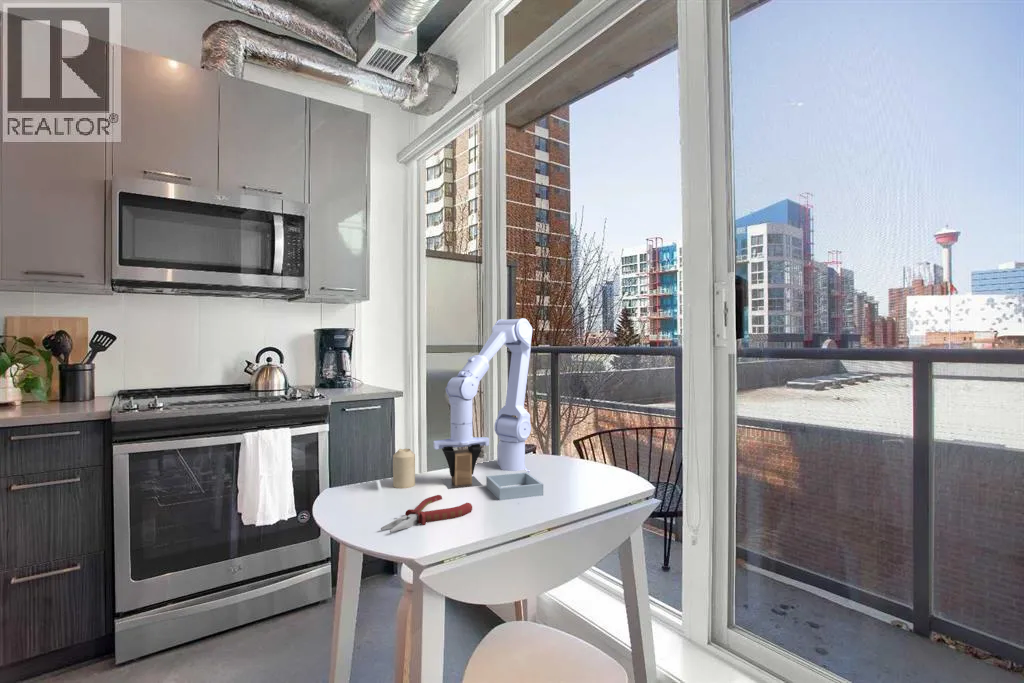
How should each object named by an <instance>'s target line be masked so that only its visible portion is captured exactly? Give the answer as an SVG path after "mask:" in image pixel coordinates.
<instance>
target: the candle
mask: <svg viewBox="0 0 1024 683" xmlns="http://www.w3.org/2000/svg"><path fill="white" fill-rule="evenodd" d="M392 477H393V478H392V486H393V488H396V489H409V488H413V487H415V486H416V454H415V453H414V452H413V450H411V449H410V448H404V449H402V448H399V449H398V450H396V452H394V454H393V455H392Z"/></svg>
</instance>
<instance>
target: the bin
mask: <svg viewBox="0 0 1024 683" xmlns="http://www.w3.org/2000/svg"><path fill="white" fill-rule="evenodd" d="M485 481H486V488H487V490H489V491H490V492H491V494H493V496H495V497H496V499H498V500H499V501H505V500H506V501H507V500H514V499H516V500H517V499H524V498H533V497H539V496H540V497H541V496H544V483H543V482H541V481H540V480H539V479H537V478H535V477H534V476H533V475H531V474H530V473H529V472H527V471H526V472H516V473H505V474H495V475H487V476H486V480H485Z"/></svg>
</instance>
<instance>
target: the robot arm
mask: <svg viewBox="0 0 1024 683" xmlns="http://www.w3.org/2000/svg"><path fill="white" fill-rule="evenodd" d="M532 336H533V327H532V325H531V324H530V322H529V320H528V319H526V318H525V317H524V318H523V317H522V318H514V319H513V318H511V319H502V318H499V319H498V320H496V322H495V324H494V325H493V326H492V327H491V334H490V335H489V337H488V338H487V341H486V342H485V344H484V345H483V346H482V348H481V350H480V352H478V354H475V355H472V356H469V357H468V359H467V362H466V363H465V364H464V366H463V367H462V369H461V370H459V372H458V374H457V375H456V376H452V377H451V379H449V380H448V382H447V385H446V387H445V393H446V395H447V397H448V402H449V404H450V438H444V439H438V440H433V442H432V444H433V446H432V447H433V450H440V449H441V450H442V452H443V454H444V456H445V459H446V462H447V464H448V469H449V474H450V475H449V476H451V478H452V477H453V476H454V457H455V452H454V448H464V447H467V449H468V450H469V451H470V452H471V453H472V476H474V471H475V466H476V463H477V462H478V458H479V456H480V454H481V453H482V447H481V446H485V447H486V446H487V447H488V446H490V437H487V436H485V437H484V436H482V437H481V436H480V437H477V436H476V437H475V436H473V399H474V397H475V396H476V395H477V394H478V387H479V385H480V382H481V380H482V378H484V376H485V375H486V373H487V372H488V370H490V364H489V363H490V361H491V360H492V358H493V357H494V356H495V355H496V354H497V353H498V352H499V351H500V349H501V348H502V347H503V345H504V346H505V347H506V348H508V349H509V351H510V352H511V356H510V357H511V358H510V366H509V371H508V372H509V373H508V381H507V390H506V398H505V405H504V406H503V407H501V408H500V409H499V410H498V412H497V418H496V419H495V422H494V427H493V428H494V432H495V434H496V435H497V436H498V440H499V441H498V444H497V458H496V459H497V462H496V464H497V465H498V466H499V467H500V468H499V469H501V470H502V471H507V472H518V471H523V470H525V471H526V472H527V473H529V472H531V470H530V469H529V468H527V467H526V441H527V440H528V438H529V436H530V435H531V431H532V425H531V414H530V413H529V412H528V410H526V408H525V399H526V392H527V383H528V374H529V366H530V356H531V346H532ZM515 416H516V417H515Z"/></svg>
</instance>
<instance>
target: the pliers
mask: <svg viewBox="0 0 1024 683" xmlns="http://www.w3.org/2000/svg"><path fill="white" fill-rule="evenodd" d="M441 500H443V497H442V495H441V494H435V495H433V496H429V497H427V498H425V499H423V500H422V501H420V503H419V504H418V505H417V506H416V507H415V508H414V509H407V510H406V511H405V513H404V514H405V515H404V516H401V517H398V518H397V519H395V520H393V521H391V522H389V523H387V524H385V525H384V526H382V527H380V530H382V531H384V530H389V529H390V530H389V532H390V533H393V532H397V531H400V530H405V529H409V528H412V527H413V526H414V525H417V524H420V523H421V526H426V522H427V523H433V522H439V521H444V520H445V521H446V520H452V519H457V518H461V517H464V516H467V515H468V514H470V513H472V511H473V505H472V503H471V502H465V503H463V504H461V505H457V506H455V507H447V508H442V509H441V508H440V509H434V510H427V511H423V510H424V509H425V508H426V507H427V506H428V505H430V504H433V503H435V502H438V501H441Z"/></svg>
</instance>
